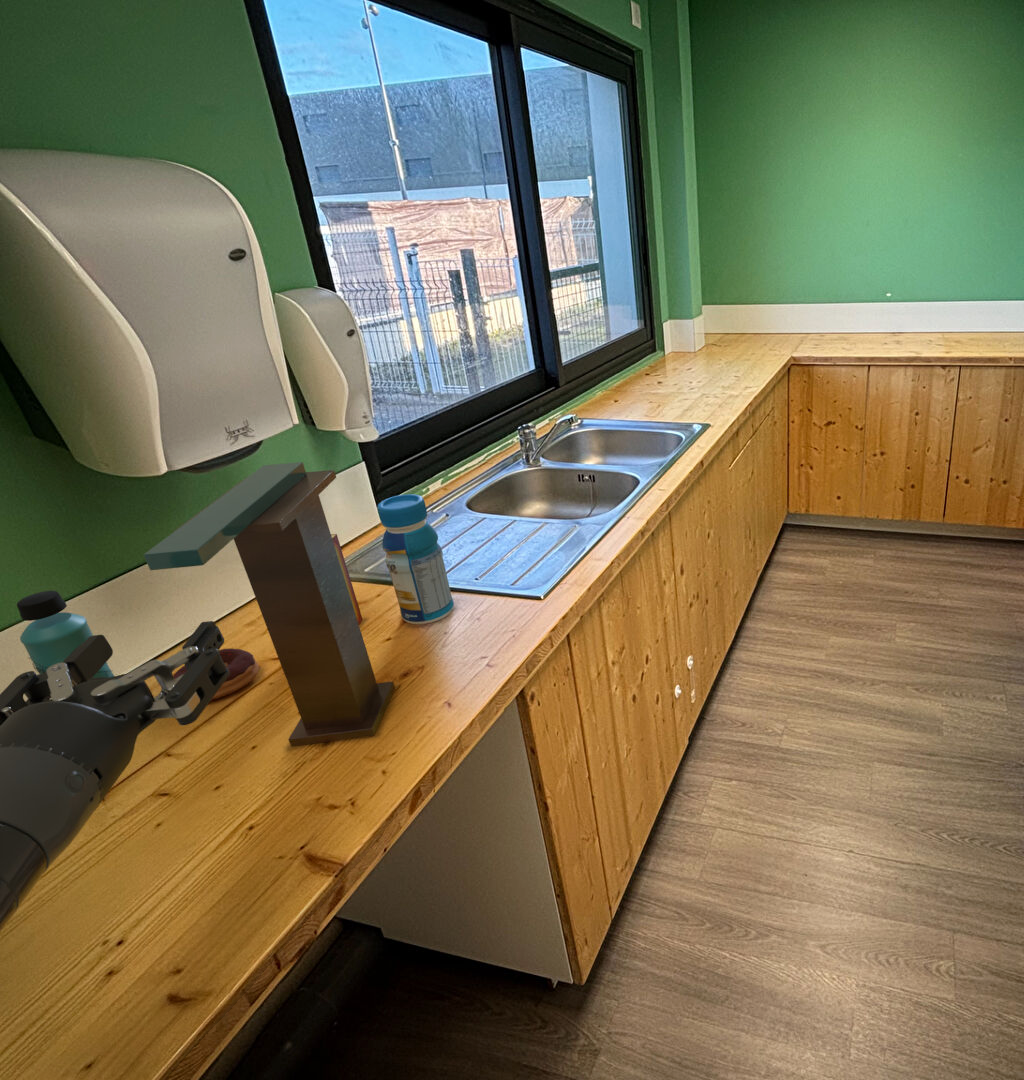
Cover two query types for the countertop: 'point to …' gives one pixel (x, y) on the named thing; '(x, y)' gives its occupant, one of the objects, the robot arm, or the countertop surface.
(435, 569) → the beverage bottle
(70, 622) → the beverage bottle
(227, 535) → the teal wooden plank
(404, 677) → the countertop surface
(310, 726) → the stand
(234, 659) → the donut
